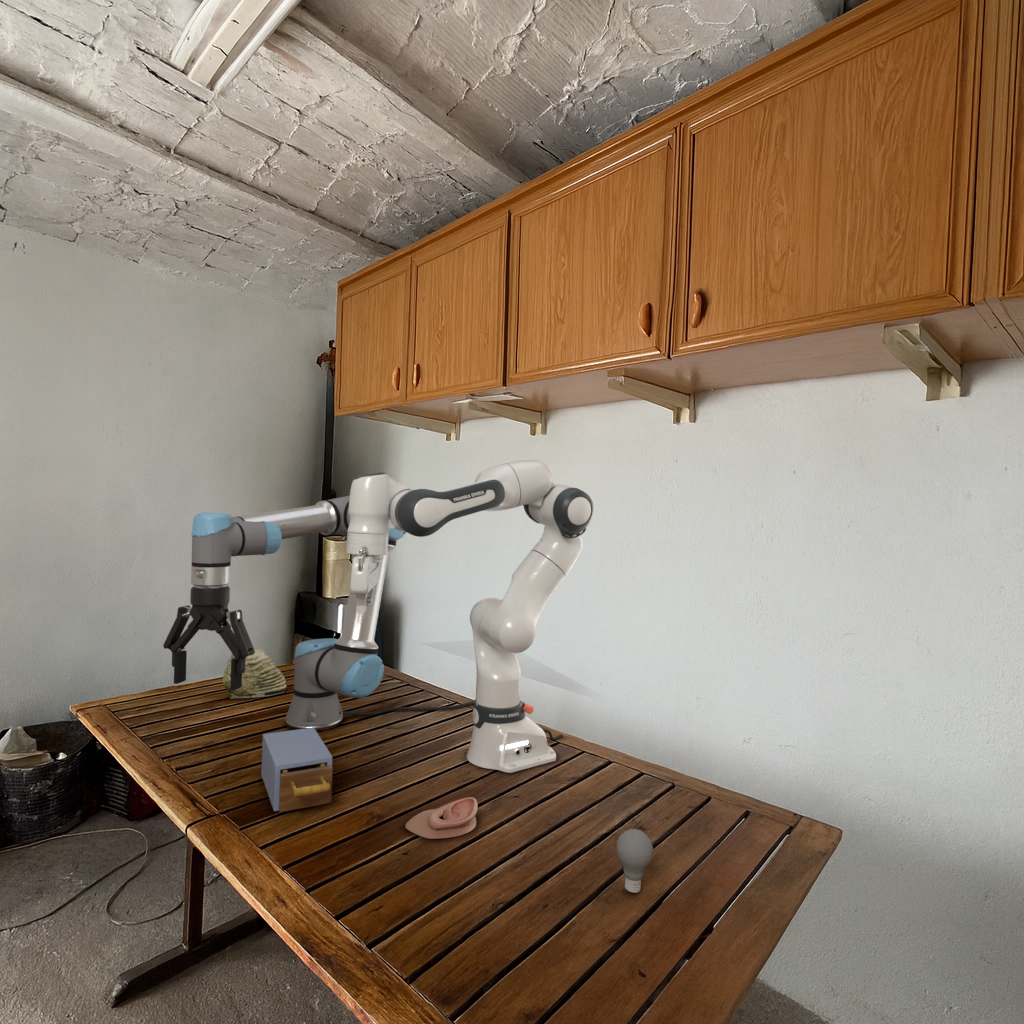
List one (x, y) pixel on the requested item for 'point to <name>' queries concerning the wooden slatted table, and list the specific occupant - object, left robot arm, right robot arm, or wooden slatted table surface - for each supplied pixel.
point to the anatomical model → (445, 820)
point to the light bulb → (634, 857)
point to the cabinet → (290, 756)
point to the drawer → (305, 786)
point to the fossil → (256, 677)
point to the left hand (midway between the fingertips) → (207, 685)
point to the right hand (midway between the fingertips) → (364, 609)
